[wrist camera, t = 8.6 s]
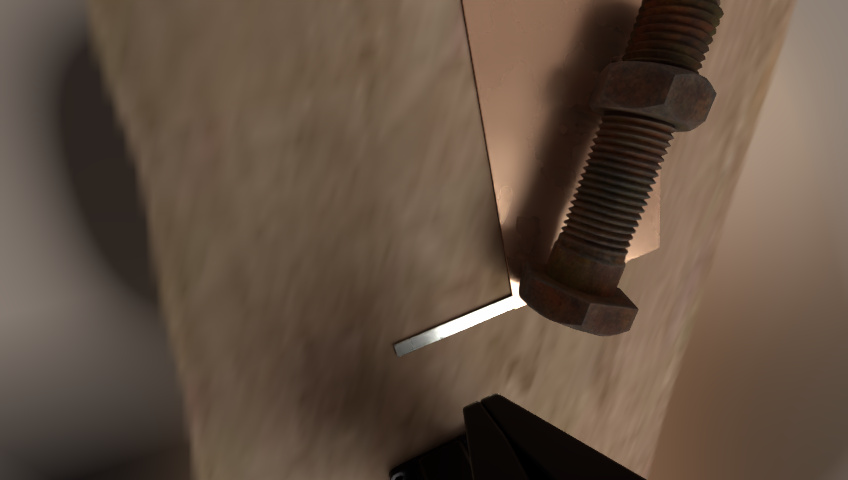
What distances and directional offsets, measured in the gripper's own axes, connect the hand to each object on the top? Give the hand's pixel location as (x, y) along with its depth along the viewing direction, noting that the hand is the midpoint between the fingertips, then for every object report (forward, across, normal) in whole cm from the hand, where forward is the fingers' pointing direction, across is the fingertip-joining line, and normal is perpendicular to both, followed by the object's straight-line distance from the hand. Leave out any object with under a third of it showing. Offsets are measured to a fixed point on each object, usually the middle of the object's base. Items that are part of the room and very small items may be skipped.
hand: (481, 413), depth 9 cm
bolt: (+11, -12, -1) cm, 16 cm away
